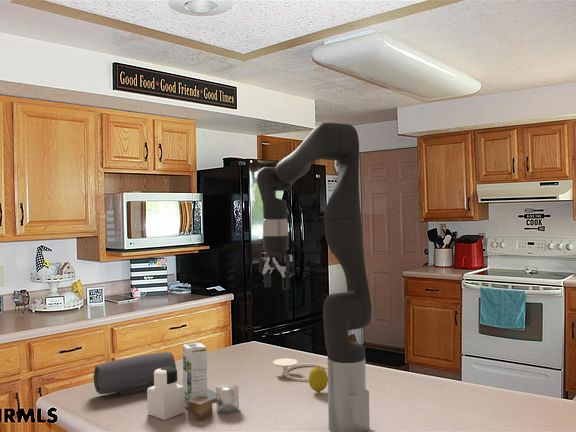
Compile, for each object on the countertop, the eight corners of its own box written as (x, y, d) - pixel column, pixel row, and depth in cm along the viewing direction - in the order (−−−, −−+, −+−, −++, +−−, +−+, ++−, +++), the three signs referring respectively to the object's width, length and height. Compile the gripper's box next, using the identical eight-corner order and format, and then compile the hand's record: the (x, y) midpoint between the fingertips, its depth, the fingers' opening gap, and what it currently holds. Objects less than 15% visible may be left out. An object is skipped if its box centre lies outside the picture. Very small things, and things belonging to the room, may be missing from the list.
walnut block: (212, 416, 144) (212, 399, 144) (200, 421, 140) (200, 404, 140) (199, 412, 146) (199, 396, 146) (187, 418, 143) (187, 401, 143)
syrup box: (182, 394, 158) (181, 344, 158) (202, 390, 161) (201, 341, 161) (188, 400, 153) (187, 348, 153) (208, 396, 156) (207, 346, 156)
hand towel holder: (339, 368, 170) (273, 370, 169) (339, 382, 170) (273, 384, 169) (332, 353, 187) (271, 355, 186) (332, 365, 187) (272, 367, 186)
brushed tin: (243, 410, 147) (242, 388, 147) (224, 416, 143) (224, 393, 143) (230, 404, 152) (230, 383, 152) (212, 409, 148) (211, 387, 148)
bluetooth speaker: (165, 378, 176) (164, 347, 176) (177, 385, 169) (176, 353, 168) (93, 393, 163) (92, 360, 162) (103, 402, 155) (102, 367, 155)
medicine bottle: (168, 406, 151) (167, 363, 151) (185, 412, 147) (184, 367, 146) (147, 414, 146) (146, 369, 145) (164, 420, 141) (163, 374, 141)
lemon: (326, 396, 156) (326, 368, 156) (307, 395, 158) (306, 368, 157) (329, 390, 162) (328, 363, 162) (310, 389, 163) (310, 362, 163)
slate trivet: (223, 398, 156) (223, 395, 156) (186, 409, 149) (186, 406, 149) (201, 388, 165) (201, 385, 165) (165, 398, 158) (165, 395, 158)
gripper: (301, 234, 160) (301, 289, 161) (270, 233, 171) (271, 284, 172) (281, 235, 156) (282, 292, 156) (251, 234, 166) (252, 287, 167)
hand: (276, 288), depth 164 cm, fingers open, 8 cm apart
